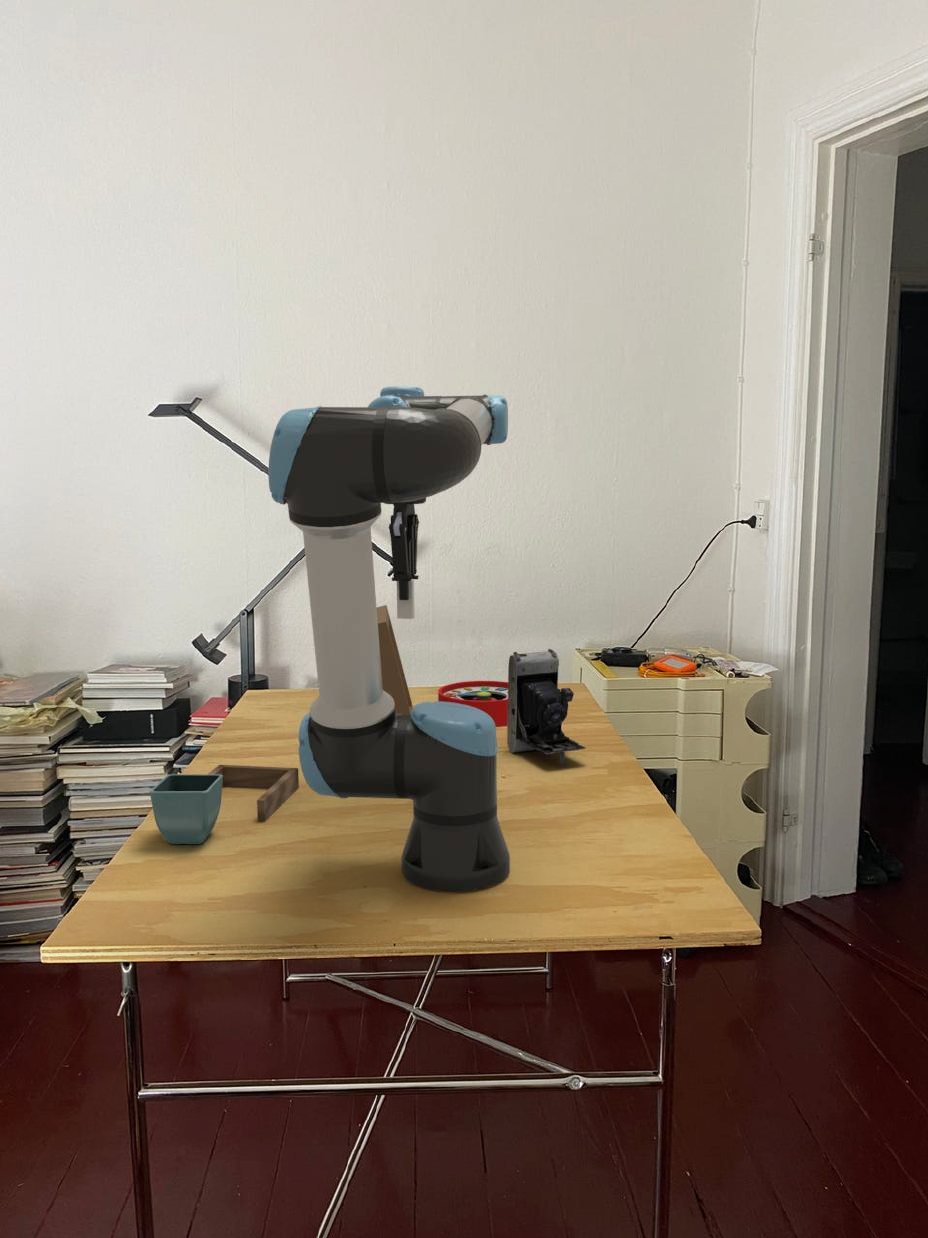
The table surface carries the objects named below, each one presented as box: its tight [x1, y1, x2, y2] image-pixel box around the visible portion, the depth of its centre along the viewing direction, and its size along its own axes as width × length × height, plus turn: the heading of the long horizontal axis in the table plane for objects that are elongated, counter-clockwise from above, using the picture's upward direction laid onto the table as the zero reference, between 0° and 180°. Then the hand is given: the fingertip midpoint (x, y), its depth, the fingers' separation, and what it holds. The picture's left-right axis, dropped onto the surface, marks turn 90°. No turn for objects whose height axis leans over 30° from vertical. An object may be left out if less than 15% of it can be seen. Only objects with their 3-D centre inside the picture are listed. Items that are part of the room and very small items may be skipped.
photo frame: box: [376, 604, 414, 714], centre depth 220 cm, size 15×22×25 cm
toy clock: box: [437, 680, 508, 728], centre depth 234 cm, size 20×6×20 cm
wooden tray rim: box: [207, 764, 300, 823], centre depth 178 cm, size 17×14×4 cm
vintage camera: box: [506, 648, 586, 768], centre depth 200 cm, size 10×16×20 cm, turn 24°
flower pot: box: [149, 773, 223, 845], centre depth 161 cm, size 9×9×9 cm
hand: (405, 617), depth 184 cm, fingers closed
